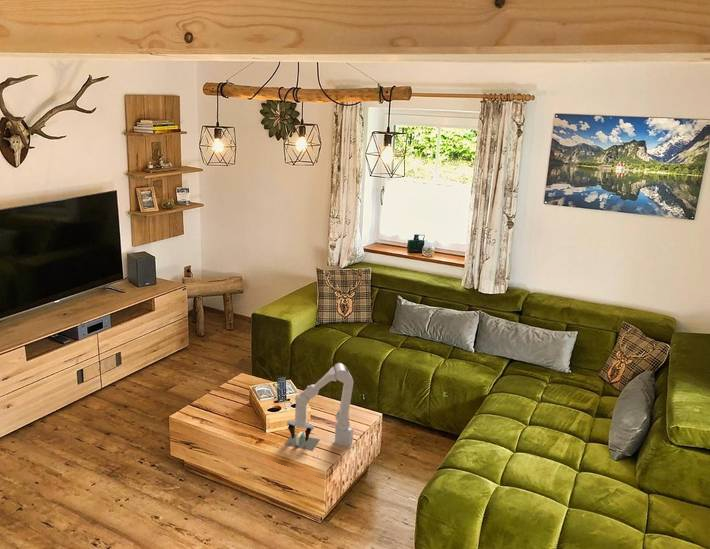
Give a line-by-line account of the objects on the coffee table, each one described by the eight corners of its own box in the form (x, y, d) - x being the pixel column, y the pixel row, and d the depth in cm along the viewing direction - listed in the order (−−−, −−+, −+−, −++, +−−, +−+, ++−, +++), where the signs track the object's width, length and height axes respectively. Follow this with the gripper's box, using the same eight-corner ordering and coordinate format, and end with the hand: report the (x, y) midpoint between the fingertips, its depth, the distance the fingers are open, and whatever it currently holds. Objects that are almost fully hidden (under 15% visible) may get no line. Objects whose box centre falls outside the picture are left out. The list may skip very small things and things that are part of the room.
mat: (320, 440, 334) (320, 439, 334) (312, 451, 323) (312, 450, 323) (292, 434, 338) (292, 433, 338) (283, 445, 327) (283, 444, 327)
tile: (303, 440, 332) (303, 431, 331) (299, 446, 327) (299, 437, 325) (300, 439, 333) (300, 431, 331) (295, 445, 327) (296, 436, 326)
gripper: (316, 415, 327) (315, 437, 331) (290, 409, 331) (290, 432, 335) (311, 421, 321) (310, 444, 324) (285, 416, 324) (284, 439, 328)
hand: (299, 439), depth 329 cm, fingers open, 7 cm apart
